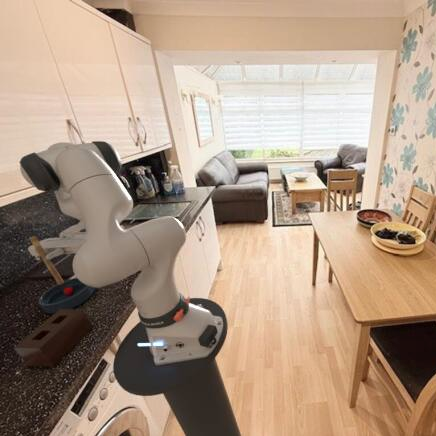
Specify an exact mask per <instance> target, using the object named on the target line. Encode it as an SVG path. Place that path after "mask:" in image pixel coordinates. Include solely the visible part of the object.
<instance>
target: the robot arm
mask: <svg viewBox="0 0 436 436" xmlns="http://www.w3.org/2000/svg"><path fill="white" fill-rule="evenodd" d="M19 165H20V167H19V169H20V173H21V176H22V177H23V179H24V180H25V181H26V182H27V183H28V184H29V185H30V186H32V187H34V188H36V189H37V190H38V191H42V192H45V193H47V192H48V193H49V192H51V195H52V197H53V207H54V209H55V212H57V213H58V214H61V215H64V216H67V217H71V218H73V219H76V220H78V221H79V222H78V223H76V224H73V225H71V226H69V227H67V228H66V229H65V230H63V231H61V232H60V233H59V237H50V238H49V237H48V238H45V239H43V240H40V241H39V243H40V244H41V246H42V248H43V249H44V251H45V252H46V255H44V258H45V260H52V259H54V258H56V257H60V256H61V255H70V254H71V255H73V254H75V255H74V256H73V259H72V272H73V274H75V276H76V277H77V279H78V280H79V281H81V282H82V283H84V284H85V285H87V286H90V287H94V288H95V289H100V288H103V287H106V286H109V285H112V284H115V283H118V282H121V281H123V280H125V279H127V278H128V277H131V276H132V275H134V274H136V273H138V272H139V274H138V276H137V277H135V279H134V281H133V282H132V285H131V287H130V288H131V289H130V297H131V299H132V302H133V304H134V305H135V307H136V310H137V315H138V318H139V322H140V321H141V323H142V324H143V326H145V328H146V331H147V335H148V339H149V343H140V344H138V346H149V349H150V352H151V353H152V355H153V356H154V362H155V364H156V365H162V364H168V363H174V362H180V361H186V360H192V359H198V358H204V357H207V356H208V355H209V354H210V353H211V352H212V351H213V350H214V348H215V347H216V345H217V343H218V341H219V339H220V337H221V334H222V330H223V320H222V318H221V317H218V316H213V315H212V313H211V312H210V311H209V310H207V309H204V308H203V306H202V305H200V304H198V305H194V304H191V303H189V301H190V299H189V298H190V296H188V297H187V298H186V297H185V296H184V295H183V294H182V293H181V292H180V291H179V288H178V285H177V281H176V278H175V268H176V267H175V266H176V264H177V263H176V262H177V258H178V255H179V253H180V252H181V250H182V248H183V247H184V245H185V243H186V241H187V231H186V228H185V226H184V225H183V223H182V222H181V221H180V220H179V219H178V218H176V217H174V216H171V215H168V216H161V217H156V218H151V219H149V220H147V221H144V222H142V223H139V224H136V225H134V226H132V227H128V228H125V229H123V228H122V226H121V225H120V224H121V223H122V222H123V221H124V220H125V219H126V218H127V217H128V216H129V215H130V213H131V212H132V210H133V208H134V200H133V198H132V196H131V194H130V193H129V192H128V190H127V189H126V187H125V186H124V184H123V183H122V182H121V180H120V178H119V177H118V176H117V174H118V173H119V172H121V171H122V167H123V165H122V159H121V156H120V154H119V152H118V151H117V150H116V149H115V148H114V147H113V146H112V144H111V143H109V142H107V141H104V140H103V141H102V140H95V141H94V140H93V141H91V142H84V143H76V144H74V143H71V142H66V141H65V142H62V141H61V142H56V143H53V144H51V145H50V146H49V147H48V148H47V149H46V150H42V151H40V152H31V153H29V154H25V155H24V156H22V157H21V159H20V160H19ZM27 250H28V252H29V254H30V255H31V256H32V257H34V258H35V260H36V261H43V259H42V258H41V256H40V255H39V253H38V252H37V250H36V249H35V247H34V246H33V244H32V245H29V246H28V247H27ZM140 271H141V272H140ZM186 299H187V300H186ZM210 347H211V348H210ZM163 359H164V360H163Z"/></svg>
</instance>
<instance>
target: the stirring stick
mask: <svg viewBox="0 0 436 436" xmlns="http://www.w3.org/2000/svg"><path fill="white" fill-rule="evenodd" d="M28 240H30V241H29V242H31V244H32V245H33V246H34V247H35V249H36V250H37V252H38V253H39V255H40V256H41V258H42V259H43V260H42V261H43V262H44V264H45V266H46V267H47V269H48V271H49V272H50V273H51V275H52V277H53V278H54V280H55V281H56V283H57V284H59V285H61V284H63V283H64V281H65V280H63V278H62V275H60V273H59V272H58V270H57V268H56V267H55V265H54V264H53V262H52V261H51V260H52V259H50V260H45V258H44V255H46V252H45V251H44V249H43V248H42V246H41V244H40V243H39V242H40V241H39V239H38V238H37V236H35V235H34V236H31V237H29V238H28Z"/></svg>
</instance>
